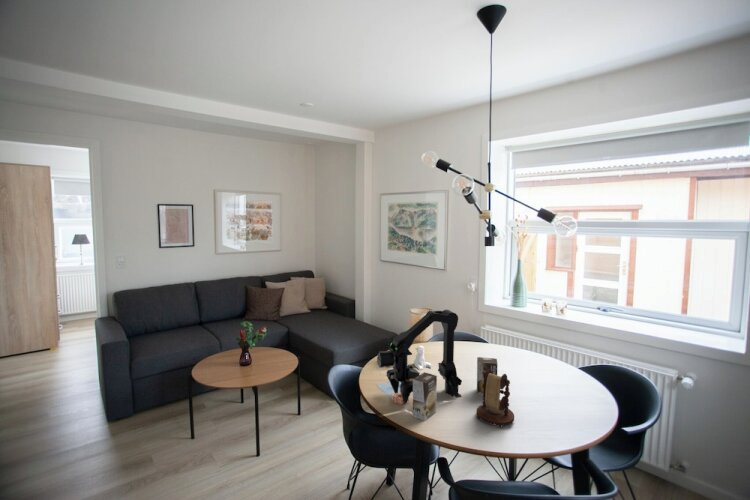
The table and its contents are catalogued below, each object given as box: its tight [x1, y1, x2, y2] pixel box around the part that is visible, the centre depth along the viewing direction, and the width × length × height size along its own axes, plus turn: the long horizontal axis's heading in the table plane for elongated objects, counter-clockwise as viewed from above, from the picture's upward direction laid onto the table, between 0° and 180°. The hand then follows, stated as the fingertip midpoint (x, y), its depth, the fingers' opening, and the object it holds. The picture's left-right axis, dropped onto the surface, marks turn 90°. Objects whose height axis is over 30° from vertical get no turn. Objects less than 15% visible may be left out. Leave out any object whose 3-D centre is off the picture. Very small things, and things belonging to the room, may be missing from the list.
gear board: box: [376, 381, 401, 396], centre depth 178 cm, size 12×22×1 cm, turn 112°
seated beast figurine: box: [413, 345, 433, 371], centre depth 202 cm, size 10×9×12 cm
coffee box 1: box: [411, 372, 438, 422], centre depth 154 cm, size 9×6×16 cm
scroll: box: [476, 369, 515, 429], centre depth 150 cm, size 15×15×20 cm
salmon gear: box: [392, 392, 410, 405], centre depth 164 cm, size 7×7×3 cm
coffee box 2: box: [476, 356, 498, 397], centre depth 172 cm, size 9×6×16 cm
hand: (400, 398), depth 164 cm, fingers open, 9 cm apart
